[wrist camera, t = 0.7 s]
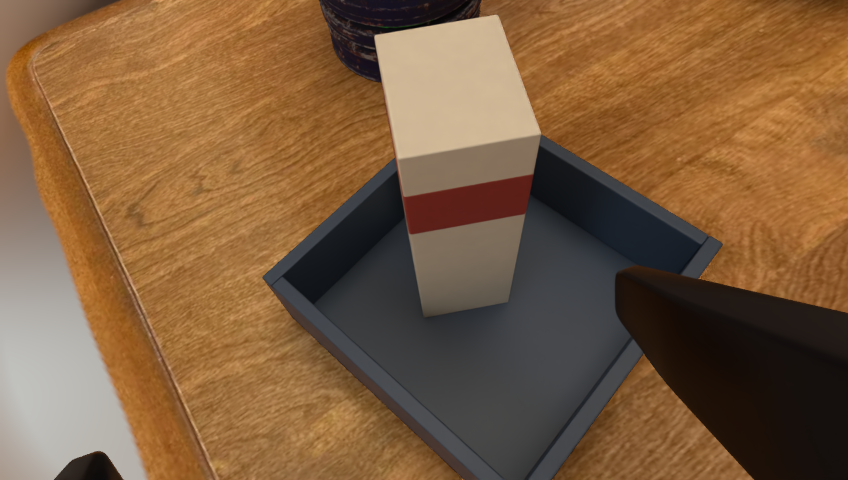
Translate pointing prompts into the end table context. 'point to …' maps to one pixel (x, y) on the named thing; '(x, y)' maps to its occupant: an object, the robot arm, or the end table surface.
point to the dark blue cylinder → (384, 25)
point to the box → (491, 316)
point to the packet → (460, 157)
